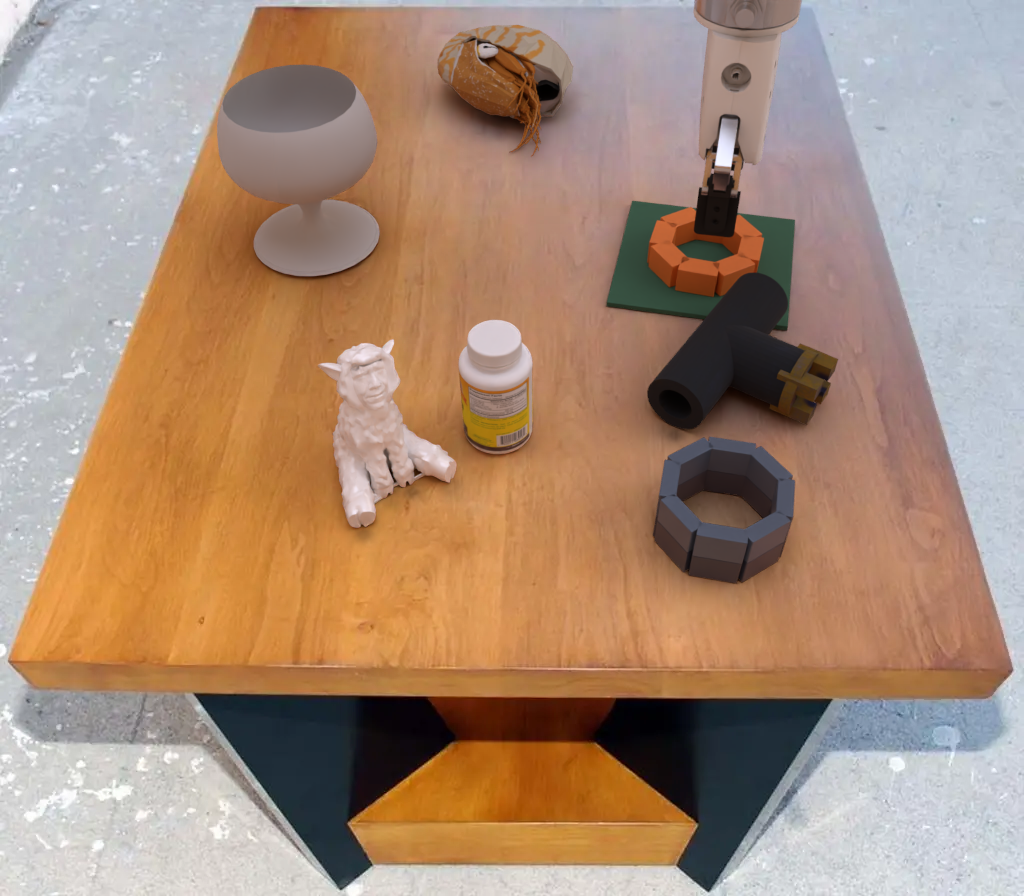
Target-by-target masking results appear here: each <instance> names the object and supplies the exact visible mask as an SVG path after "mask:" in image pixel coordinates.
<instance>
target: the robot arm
mask: <svg viewBox="0 0 1024 896" xmlns="http://www.w3.org/2000/svg"><path fill="white" fill-rule="evenodd" d="M802 2H803V0H694V3H693V12H692V13H693V17H694V18H695V20H696V21H697V22H698V23H699V24H700V25H702V26H703V27H704V28H706V29H707V37H706V43H705V44H706V45H705V54H704V63H703V73H702V81H701V82H702V85H701V95H700V108H699V110H700V111H699V113H700V114H699V128H698V131H699V132H698V156H699V157H700V158H701V159H702V160H703V161H705V163H704V171H703V179H702V185H701V186H700V187H699V188H698V192H697V193H698V194H697V200H696V207H695V208H696V216H695V224H694V232H695V233H696V234H702V235H711V236H720V237H732V236H733V235H734V231H735V225H736V219H737V213H739V212H738V211H739V207H740V206H739V205H740V201H741V200H740V199H741V193H742V190H739V187H740V179H741V172H742V170H743V168H744V163H745V164H752V166H756V165H758V164H759V163H760V162H761V161H762V159H763V153H764V147H765V141H766V134H767V128H768V124H769V117H770V111H771V106H772V100H773V95H774V91H775V90H774V88H775V83H776V78H777V71H778V66H779V59H780V50H781V43H782V35H783V34H782V33H785V32H788V31H789V30H791V29H792V28H794V26H796V24H797V23H798V21H799V19H800V13H801V7H802ZM712 171H713V172H712ZM731 172H733V173H732V174H731Z"/></svg>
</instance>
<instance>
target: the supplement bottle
mask: <svg viewBox="0 0 1024 896" xmlns="http://www.w3.org/2000/svg"><path fill="white" fill-rule="evenodd" d="M466 341H467V343H466V344H467V345H466V346H464V348H463V349H462V350H461V352H460V354H459V357H458V364H457V365H458V377H459V389H460V399H461V401H460V402H461V414H462V426H463V432H464V435H465V437H466V440H467V441H468V442H469V443H470V445H472V446H473V447H474V448H475V449H477V450H479V451H481V452H483V453H487V454H490V455H505V454H509V453H512V452H514V451H517V450H519V449H520V448H522V447H523V446H524V445H525V444H526V443H527V442H528V441H529V439H530V438H531V435H532V433H533V428H534V427H533V426H534V409H533V408H534V398H533V395H534V388H533V387H534V386H533V385H534V384H533V383H534V380H533V379H534V378H533V377H534V373H533V371H534V367H533V366H534V363H533V357H532V356H533V355H532V354H531V351H530V350H529V348H528V347H527V345H526V344H524V343H523V342H522V341H523V340H522V334H521V331H520V330H519V329H518V327H517V326H515V325H514V324H513V323H511V322H509V321H506V320H502V319H488V320H484V321H482V322H479V323H477V324H475V325H474V326H473V327H472V328H471V329H470V330H469V332H468V334H467V339H466Z"/></svg>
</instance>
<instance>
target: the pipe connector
mask: <svg viewBox="0 0 1024 896" xmlns="http://www.w3.org/2000/svg"><path fill="white" fill-rule="evenodd" d="M787 308H788V299H787V296H786V293H785V291H784V290H783V288H782V287H781V286H780V284H779V283H777V282H776V281H775V280H774V279H772V278H771V277H769V276H767V275H765V274H761V273H755V272H754V273H747V274H744V275H742V276H741V277H740V278H739V279H738V280H737V281H736V282H735V283H734V284H733V286H732V287H731V288H730V289H729V290H728V292H727V293H726V294H725V295H724V296H723V298H722V299H721V300H720V301H719V302H718V304H717V305H716V306H715V307H714V308H713V310H712V311H711V312H710V313H709V314H708V316H707V317H706V318H705V319H702V321H701V323H700V324H699V325H698V326H697V327H696V329H695V330H694V331H693V332H692V334H690V335H689V337H688V338H687V339H686V340H685V342H684V343H683V344H682V345H681V347H679V349H678V350H677V351H676V352H675V354H674V355H673V356H672V357H671V359H670V360H669V361H668V362H667V363H666V364H665V366H664V367H663V368H662V369H661V370H660V372H659V373H658V374H657V375H656V377H654V378H653V380H652V381H651V383H650V384H649V385H648V387H647V391H646V397H647V402H648V403H649V406H650V408H651V409H652V410H653V412H654V413H655V414H656V416H658V417H659V418H660V419H661V420H662V421H664V422H665V423H666V424H668V425H670V426H671V427H675V428H677V429H680V430H693V429H696V428H698V427H699V426H700V425H701V424H702V422H703V421H704V420H705V419H706V417H707V416H708V415H709V414H710V412H711V411H712V410H713V409H714V407H715V406H716V405H717V403H718V402H719V400H720V399H721V398H722V397H723V395H724V394H725V393H726V392H727V390H728V389H729V388H732V389H735V390H736V391H739V392H742V393H744V394H746V395H748V396H750V397H753V398H755V399H757V400H759V401H761V402H765V403H766V404H768V405H769V410H771V411H773V412H776V413H778V414H780V415H783V416H785V417H787V418H790V419H791V420H794V421H796V422H798V423H801V424H803V425H805V426H807V425H808V424H809V422H810V421H811V419H812V418H813V416H814V415H815V412H816V409H817V405H822V403H823V402H824V400H825V399H826V397H827V396H828V394H829V391H830V388H831V384H832V383H831V382H830V381H829V380H830V379H831V378H832V376H833V374H834V373H835V372H836V368H837V365H838V361H839V358H837V357H834V356H832V355H829V354H827V353H824V352H822V351H819V350H818V349H815V348H812V347H810V346H807V345H805V344H803V343H799V344H798V345H797V346H796V345H793V344H791V343H790V342H786V341H784V340H782V339H779V338H777V337H775V336H772V335H770V334H771V332H772V331H773V330H775V329H774V327H775V326H776V325H777V323H778V322H779V321H780V319H781V318H782V317H783V315H784V314H785V313H786V311H787Z"/></svg>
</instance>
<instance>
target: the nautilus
mask: <svg viewBox="0 0 1024 896" xmlns="http://www.w3.org/2000/svg"><path fill="white" fill-rule="evenodd" d="M436 64H437V74H438V76H439V77H440V78H441V80H442V81H443V82H444V84H446V85H448V86H449V87H451V88H452V89H453V90H454V91H455V92H456V93H457V94H458V96H460V98H461V99H463V100H464V101H465V102H466V103H468V104H469V105H470V106H471V107H474V109H477V110H480V111H481V112H483V113H485V114H487V115H490V116H500V117H510V118H511V119H515V120H518V121H519V124H524V128H523V129H524V130H523V133H522V137H521V140H520V142H519V144H518V145H517V146H516V148H514V149H513V150H511V151H508V153H510V154H511V153H513V152H515V151H517V150H519V149H520V148H521V147H523V145H527V144H528V143H529V142H530V140H532V141H533V142H534V144H535V147H534V150H533V153H532V154H531V155H530V157H531V158H532V157H533V156H534V155H535V153H536V152H537V151H538V152H539V151H540V147H539V145H538V144H539V143H540V144H542V141H541V139H540V130H542V128H541V125H540V122H541V120H542V117H544V118H545V117H546V118H547V117H548V118H553V117H554V116H555V114H556V113H557V112H558V110H559V108H560V107H561V106H562V104H563V100H564V96H565V93H566V90H567V88H568V86H569V85H570V84H571V82H572V79H573V73H574V65H573V63H572V61H571V59H570V57H569V54H568V53H567V52H566V51H565V50H564V49H563V47H562V46H561V45H560V44H559V43H558V41H556V40H554V39H553V38H552V37H551V36H550V35H549V34H547V33H545V32H543V31H542V30H540V29H537V28H532V27H528V26H525V25H521V24H508V25H507V24H506V25H505V24H504V25H503V24H501V25H499V24H498V25H497V24H496V25H486V26H480V27H476V28H472V29H470V30H469V29H468V30H464V31H460V32H458V33H456V35H454V36H453V37H452V38H451V39H449V40H448V41H446V43H445V44H444V46H443V48H442V49H441V51H440V53H439V55H438V58H437V63H436ZM538 127H539V128H538ZM539 129H540V130H539ZM528 132H529V135H528V136H527V134H528ZM534 135H535V136H536V139H535V138H534Z"/></svg>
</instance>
